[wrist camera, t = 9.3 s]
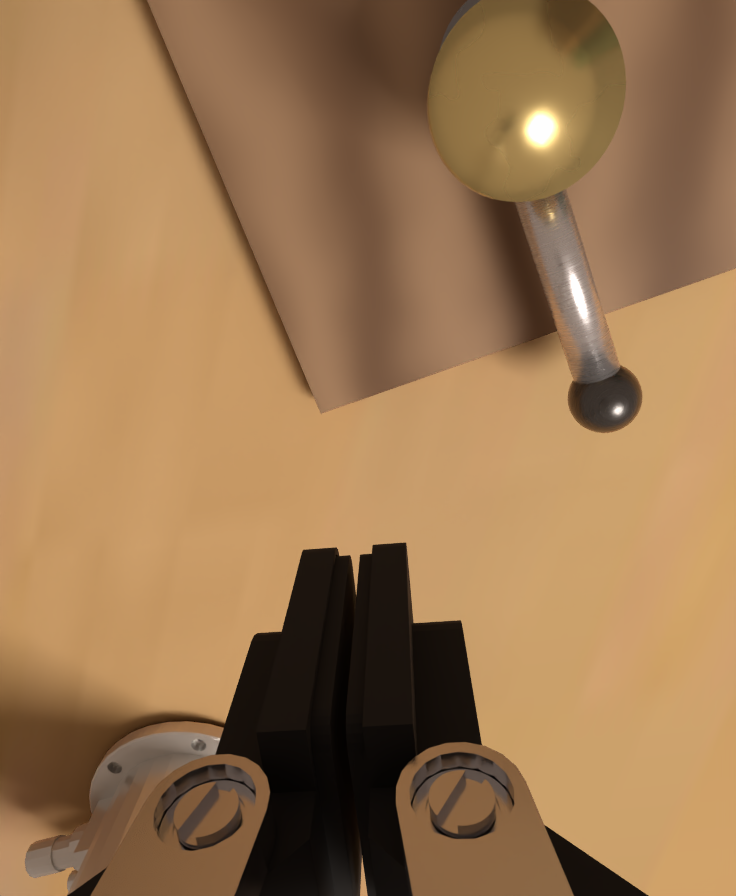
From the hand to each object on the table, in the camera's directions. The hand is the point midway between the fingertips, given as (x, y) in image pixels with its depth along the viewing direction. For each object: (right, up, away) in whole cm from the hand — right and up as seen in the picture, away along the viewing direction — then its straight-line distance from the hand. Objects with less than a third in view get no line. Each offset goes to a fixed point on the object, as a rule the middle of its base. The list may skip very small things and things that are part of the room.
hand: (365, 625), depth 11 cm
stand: (+5, +17, +16) cm, 24 cm away
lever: (+7, +12, +16) cm, 21 cm away
